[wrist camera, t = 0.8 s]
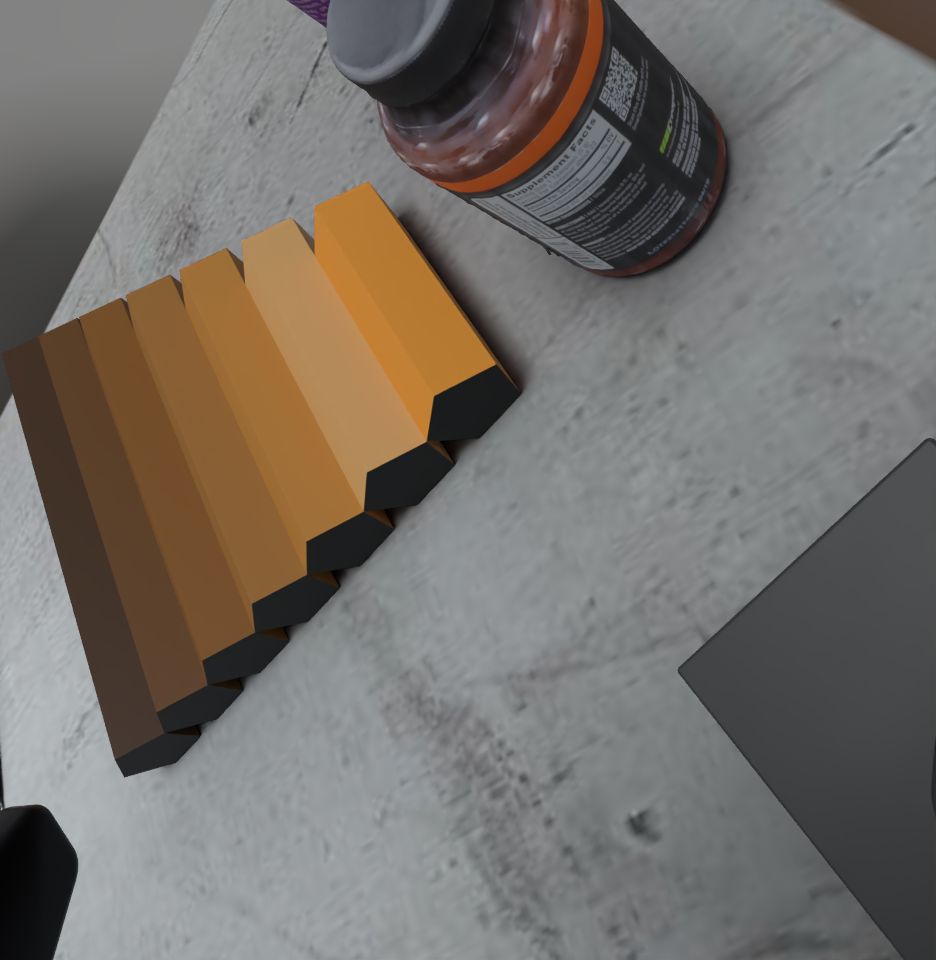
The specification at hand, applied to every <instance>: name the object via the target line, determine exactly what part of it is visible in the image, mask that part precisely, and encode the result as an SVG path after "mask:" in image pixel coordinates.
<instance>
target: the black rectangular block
mask: <svg viewBox="0 0 936 960" xmlns="http://www.w3.org/2000/svg"><path fill="white" fill-rule="evenodd" d="M677 671H678V673H679V674H680V676H681V677H682V678H683V679H684V681H685V682H686V683H687V684H688V686H689V687H690V688H691V690H692V691H693V692H694V693H695V695H696V696H697V697H698V698H699V700H700V701H701V702H702V704H703V705H704V706H705V707H706V709H707V710H708V711H709V712H710V714H711V715H712V716H713V718H714V719H715V720H716V721H717V723H718V724H719V725H720V726H721V728H722V729H723V730H724V732H725V733H726V734H727V735H728V737H729V738H730V739H731V740H732V742H733V743H734V744H735V746H736V747H737V748H738V749H739V751H740V752H741V753H742V754H743V756H744V757H745V758H746V760H747V761H748V762H749V763H750V765H751V766H752V767H753V768H754V770H755V771H756V772H757V774H758V775H759V776H760V777H761V779H762V780H763V781H764V782H765V784H766V785H767V786H768V788H769V789H770V790H771V791H772V793H773V794H774V795H775V796H776V798H777V799H778V800H779V802H780V803H781V804H782V805H783V807H784V808H785V809H786V810H787V812H788V813H789V814H790V816H791V817H792V818H793V819H794V821H795V822H796V823H797V824H798V826H799V827H800V828H801V829H802V831H803V832H804V833H805V835H806V836H807V837H808V838H809V840H810V841H811V842H812V843H813V845H814V846H815V847H816V849H817V850H818V851H819V852H820V854H821V855H822V856H823V857H824V859H825V860H826V861H827V863H828V864H829V865H830V866H831V868H832V869H833V870H834V871H835V873H836V874H837V875H838V877H839V878H840V879H841V880H842V882H843V883H844V884H845V885H846V887H847V888H848V889H849V891H850V892H851V893H852V894H853V896H854V897H855V898H856V899H857V901H858V902H859V903H860V905H861V906H862V907H863V908H864V910H865V911H866V912H867V913H868V915H869V916H870V917H871V919H872V920H873V921H874V922H875V924H876V925H877V926H878V927H879V929H880V930H881V931H882V933H883V934H884V935H885V936H886V938H887V939H888V940H889V941H890V943H891V944H892V945H893V947H894V948H895V949H896V950H897V952H898V953H899V954H900V955H901V957H902V958H903V959H904V960H936V817H935V813H934V809H933V804H932V798H931V784H932V771H933V758H934V745H935V738H936V441H935V440H934V439H932V438H928V439H925V440H924V441H923V442H922V443H921V444H920V445H919V446H918V447H917V448H916V449H915V450H914V451H912V452H911V453H910V454H909V455H908V456H907V457H906V458H905V459H904V460H903V461H902V462H901V463H899V464H898V465H897V466H896V467H895V468H894V469H893V470H892V471H891V472H890V473H889V474H888V475H887V476H885V477H884V478H883V479H882V480H881V481H880V482H879V483H878V484H877V485H876V486H875V487H874V488H872V489H871V490H870V491H869V492H868V493H867V494H866V495H865V496H864V497H863V498H862V499H861V500H859V501H858V502H857V503H856V504H855V505H854V506H853V507H852V508H851V509H850V510H849V511H848V512H846V513H845V514H844V515H843V516H842V517H841V518H840V519H839V520H838V521H837V522H836V523H835V524H834V525H832V526H831V527H830V528H829V529H828V530H827V531H826V532H825V533H824V534H823V535H822V536H821V537H819V538H818V539H817V540H816V541H815V542H814V543H813V544H812V545H811V546H810V547H809V548H808V549H806V550H805V551H804V552H803V553H802V554H801V555H800V556H799V557H798V558H797V559H796V560H795V561H793V562H792V563H791V564H790V565H789V566H788V567H787V568H786V569H785V570H784V571H783V572H782V573H781V574H779V575H778V576H777V577H776V578H775V579H774V580H773V581H772V582H771V583H770V584H769V585H768V586H766V587H765V588H764V589H763V590H762V591H761V592H760V593H759V594H758V595H757V596H756V597H755V598H753V599H752V600H751V601H750V602H749V603H748V604H747V605H746V606H745V607H744V608H743V609H742V610H740V611H739V612H738V613H737V614H736V615H735V616H734V617H733V618H732V619H731V620H730V621H729V622H728V623H726V624H725V625H724V626H723V627H722V628H721V629H720V630H719V631H718V632H717V633H716V634H715V635H713V636H712V637H711V638H710V639H709V640H708V641H707V642H706V643H705V644H704V645H703V646H702V647H700V648H699V649H698V650H697V651H696V652H695V653H694V654H693V655H692V656H691V657H690V658H689V659H687V660H686V661H685V662H684V663H683V664H682V665H681V666H680V667H679V668H678V670H677Z"/></svg>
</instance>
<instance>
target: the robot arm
mask: <svg viewBox="0 0 936 960" xmlns="http://www.w3.org/2000/svg"><path fill="white" fill-rule="evenodd" d="M931 798H932V804H933V809H934V813H935V817H936V738H935V745H934V758H933V771H932V784H931ZM77 874H78V858H77V854H76V851H75V849H74V848H73V846H72V845H71V843H70V842H69V840H68V838H67V837H66V835H65V834H64V832H63V831H62V829H61V828H60V826H59V824H58V823H57V821H56V820H55V818H54V817H53V815H52V814H51V812H50V811H49V810H48V809H47V808H46V807H44V806H42V805H26V806H14V807H9V808H5V809H3V810H1V811H0V960H53V958H54V954H55V951H56V948H57V944H58V941H59V937H60V934H61V930H62V927H63V923H64V920H65V916H66V913H67V909H68V906H69V903H70V899H71V896H72V892H73V889H74V885H75V882H76V878H77Z"/></svg>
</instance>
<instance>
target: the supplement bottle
mask: <svg viewBox="0 0 936 960" xmlns="http://www.w3.org/2000/svg"><path fill="white" fill-rule="evenodd" d="M326 33H327V41H328V47H329V51H330V55H331V58H332V60H333V62H334V64H335V66H336V67H337V69H338V70H339V71H340V72H341V73H342V74H343V75H344V76H345V77H346V78H347V79H348V80H350V81H351V82H353V83H354V84H356V85H357V86H359V87H360V88H362V89H364V90H365V91H367V93H368V94H369V95H370V96H371V97H372V98H374V99H376V100H377V105H378V111H379V115H380V118H381V121H382V127H383V129H384V133H385V136H386V138H387V140H388V142H389V143H390V145H391V147H392V149H393V150H394V151H395V152H396V154H397V155H398V156H399V157H400V159H401V160H402V161H403V162H405V163H406V164H407V165H408V166H409V167H410V168H412V169H413V170H415V171H417V172H418V173H420V174H421V175H423V176H424V177H426V178H428V179H430V180H431V181H433V182H434V183H435V184H436V185H437V186H439V187H441V188H444V189H446V190H448V191H449V192H451V193H452V194H454V195H456V196H457V197H459V198H461V199H463V200H464V201H466V202H467V203H468V204H471V205H474V206H475V207H477V208H478V209H480V210H481V211H483V212H486V213H487V214H489V215H490V216H492V217H493V218H494V219H496V220H499V221H500V222H501V223H503V224H505V225H507V226H509V227H511V228H513V229H514V230H516V231H518V232H519V233H520V234H522V235H525V236H527V237H528V238H529V239H531V240H533V241H535V242H537V243H538V244H541V245H542V246H543V247H544V248H545V249H546V251H547V253H548V254H549V255H552V254H551V253H550V251H551V252H554V253H555V254H556V255H557V256H562V257H563V258H564V259H566V260H568V261H569V262H571V263H572V264H573V265H576V266H578V267H582V268H583V269H585V270H587V271H590V272H593V273H595V274H599V275H604V276H615V277H616V276H629V275H635V274H640V273H643V272H646V271H649V270H651V269H653V268H655V267H657V266H659V265H660V264H662V263H665V262H666V261H668V260H669V259H671V258H672V257H674V256H675V255H676V254H677V253H678V252H680V251H681V250H682V249H683V248H684V247H685V246H687V245H688V244H689V243H690V242H691V240H692V239H693V238H694V237H695V236H696V235H697V234H698V233H699V232H700V230H701V229H702V227H703V226H704V224H705V223H706V221H707V220H708V218H709V216H710V214H711V212H712V210H713V208H714V206H715V204H716V202H717V200H718V197H719V195H720V192H721V189H722V184H723V180H724V176H725V168H726V149H725V140H724V135H723V132H722V129H721V127H720V124H719V122H718V120H717V119H716V117H715V115H714V113H713V112H712V110H711V109H710V108H709V107H708V106H707V104H706V102H705V101H704V100H703V99H702V97H701V96H700V95H699V94H698V93H697V92H696V91H695V90H694V88H693V87H692V86H691V85H690V84H689V83H688V82H687V81H686V79H685V78H684V77H683V76H682V75H681V74H680V73H679V72H678V71H677V70H676V68H675V67H674V66H673V65H672V64H671V63H670V62H669V61H668V60H667V59H666V57H665V56H664V55H663V54H662V53H661V52H660V51H659V50H658V49H657V48H656V47H655V46H654V44H653V43H652V42H651V41H650V40H649V39H648V38H647V37H646V36H645V34H644V33H643V32H642V31H641V30H640V29H639V28H638V27H637V25H636V24H635V23H634V22H633V21H632V20H631V19H630V18H629V17H628V15H627V14H626V13H625V12H624V11H623V10H622V9H621V8H620V7H619V5H618V4H617V3H616V2H615V1H614V0H330V4H329V8H328V14H327V28H326ZM549 250H550V251H549Z"/></svg>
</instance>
